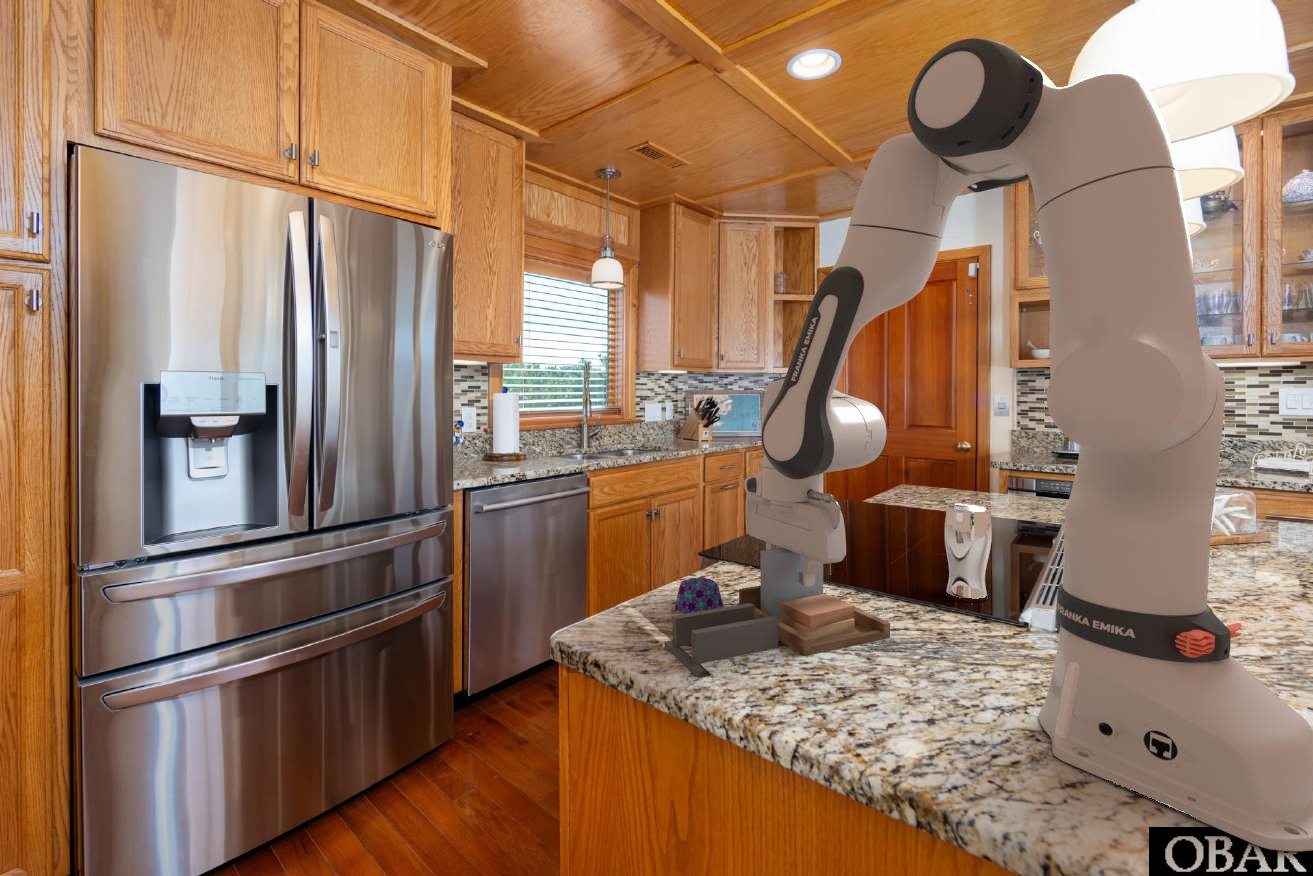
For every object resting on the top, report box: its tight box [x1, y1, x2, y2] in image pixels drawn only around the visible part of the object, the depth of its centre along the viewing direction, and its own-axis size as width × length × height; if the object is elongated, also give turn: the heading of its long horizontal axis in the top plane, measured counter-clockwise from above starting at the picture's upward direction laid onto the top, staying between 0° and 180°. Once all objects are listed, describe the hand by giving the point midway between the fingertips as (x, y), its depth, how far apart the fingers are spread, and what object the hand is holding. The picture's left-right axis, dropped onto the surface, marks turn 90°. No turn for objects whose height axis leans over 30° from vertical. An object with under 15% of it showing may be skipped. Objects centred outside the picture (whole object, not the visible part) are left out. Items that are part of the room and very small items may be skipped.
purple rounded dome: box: [674, 577, 725, 614], centre depth 97 cm, size 12×12×5 cm
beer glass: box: [944, 503, 993, 599], centre depth 103 cm, size 7×7×15 cm
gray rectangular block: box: [760, 548, 824, 622], centre depth 92 cm, size 3×9×10 cm, turn 113°
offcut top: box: [781, 593, 855, 629], centre depth 87 cm, size 6×8×2 cm
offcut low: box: [781, 616, 855, 641], centre depth 87 cm, size 6×8×2 cm
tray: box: [738, 585, 891, 657], centre depth 89 cm, size 16×14×5 cm
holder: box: [664, 603, 779, 679], centre depth 82 cm, size 10×13×5 cm
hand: (791, 578), depth 92 cm, fingers open, 6 cm apart
